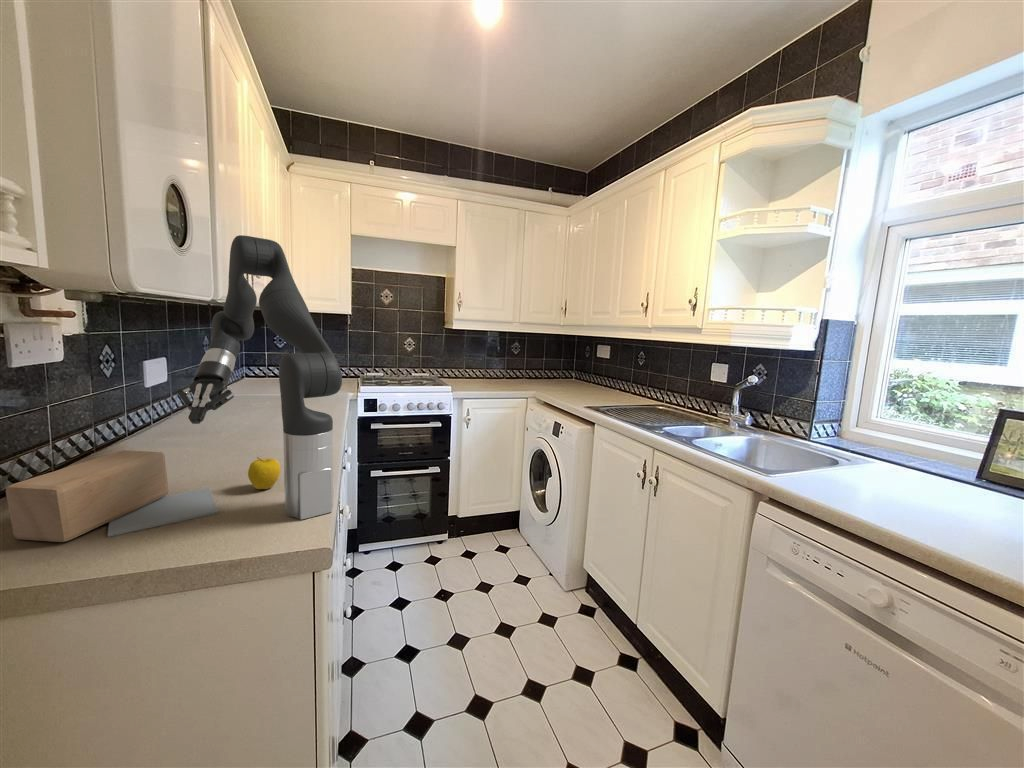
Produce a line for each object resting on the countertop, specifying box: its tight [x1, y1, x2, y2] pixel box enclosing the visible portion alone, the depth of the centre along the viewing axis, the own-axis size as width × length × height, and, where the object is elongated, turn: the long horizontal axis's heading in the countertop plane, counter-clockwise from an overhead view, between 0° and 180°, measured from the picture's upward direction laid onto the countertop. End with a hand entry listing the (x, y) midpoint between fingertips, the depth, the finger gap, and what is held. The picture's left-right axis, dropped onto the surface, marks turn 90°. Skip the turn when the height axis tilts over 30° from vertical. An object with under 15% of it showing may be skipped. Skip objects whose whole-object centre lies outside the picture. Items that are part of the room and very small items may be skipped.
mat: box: [107, 487, 219, 538], centre depth 83 cm, size 15×16×1 cm
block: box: [5, 449, 169, 543], centre depth 78 cm, size 10×10×20 cm
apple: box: [247, 456, 281, 490], centre depth 95 cm, size 6×6×8 cm
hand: (194, 422), depth 102 cm, fingers closed
